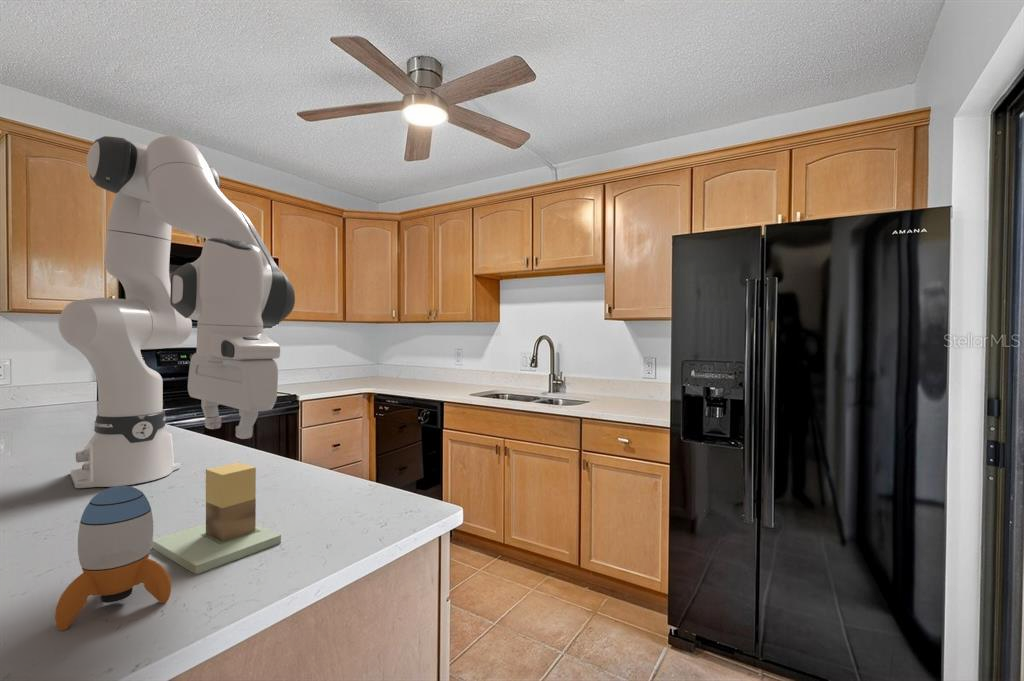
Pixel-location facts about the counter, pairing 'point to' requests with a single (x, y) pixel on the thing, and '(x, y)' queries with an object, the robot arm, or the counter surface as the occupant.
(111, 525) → the toy rocket
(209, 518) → the walnut block
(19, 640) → the counter surface
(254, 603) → the counter surface
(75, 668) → the counter surface
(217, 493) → the ochre block
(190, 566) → the plate
